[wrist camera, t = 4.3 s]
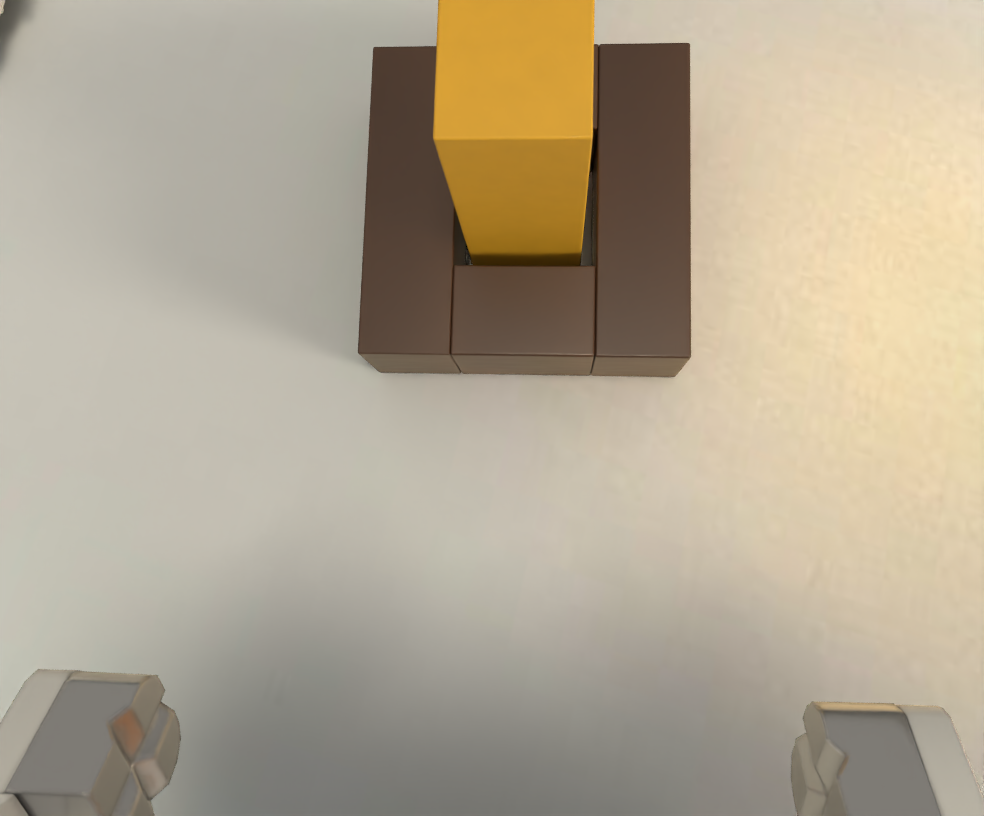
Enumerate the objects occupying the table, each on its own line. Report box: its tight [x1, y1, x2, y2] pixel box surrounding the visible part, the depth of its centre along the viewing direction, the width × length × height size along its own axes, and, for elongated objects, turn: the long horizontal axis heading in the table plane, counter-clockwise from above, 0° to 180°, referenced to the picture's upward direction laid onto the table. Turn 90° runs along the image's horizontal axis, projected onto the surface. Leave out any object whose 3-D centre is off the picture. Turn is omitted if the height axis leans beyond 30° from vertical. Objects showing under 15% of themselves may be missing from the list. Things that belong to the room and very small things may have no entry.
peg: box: [433, 0, 594, 266], centre depth 22 cm, size 3×3×10 cm
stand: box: [358, 43, 691, 377], centre depth 26 cm, size 9×9×3 cm
